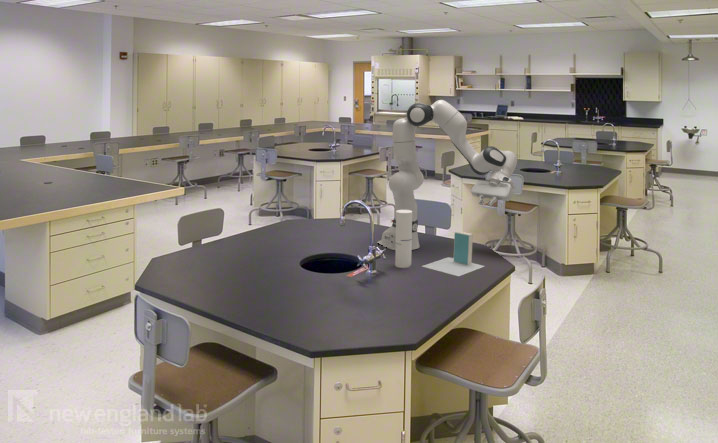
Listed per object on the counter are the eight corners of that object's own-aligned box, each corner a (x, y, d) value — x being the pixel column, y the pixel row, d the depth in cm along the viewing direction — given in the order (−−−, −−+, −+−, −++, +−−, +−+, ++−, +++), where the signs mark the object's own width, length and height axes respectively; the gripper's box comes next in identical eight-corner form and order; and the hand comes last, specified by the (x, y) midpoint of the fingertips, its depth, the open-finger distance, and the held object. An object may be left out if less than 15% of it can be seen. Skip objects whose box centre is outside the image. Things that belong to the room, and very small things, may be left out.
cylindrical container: (410, 268, 249) (411, 213, 244) (394, 267, 251) (395, 212, 245) (412, 263, 256) (413, 210, 251) (396, 262, 258) (397, 209, 252)
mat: (421, 267, 250) (421, 266, 250) (448, 258, 264) (448, 257, 264) (458, 278, 236) (458, 276, 236) (485, 267, 250) (485, 266, 250)
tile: (453, 261, 256) (454, 232, 253) (456, 260, 258) (457, 230, 255) (467, 265, 251) (469, 235, 248) (471, 264, 253) (472, 233, 250)
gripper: (476, 175, 270) (463, 197, 266) (514, 179, 256) (501, 203, 252) (481, 183, 274) (468, 205, 270) (518, 188, 260) (506, 211, 256)
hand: (484, 204), depth 261 cm, fingers open, 3 cm apart
